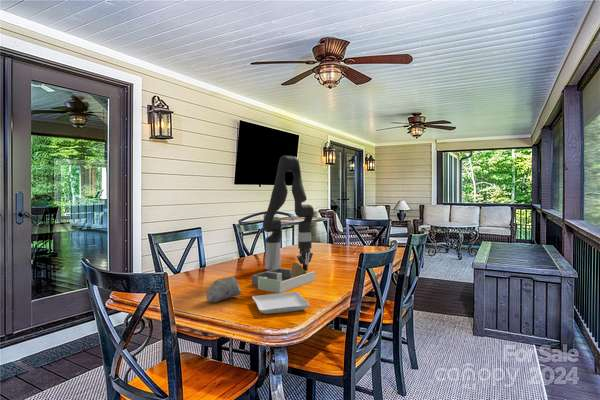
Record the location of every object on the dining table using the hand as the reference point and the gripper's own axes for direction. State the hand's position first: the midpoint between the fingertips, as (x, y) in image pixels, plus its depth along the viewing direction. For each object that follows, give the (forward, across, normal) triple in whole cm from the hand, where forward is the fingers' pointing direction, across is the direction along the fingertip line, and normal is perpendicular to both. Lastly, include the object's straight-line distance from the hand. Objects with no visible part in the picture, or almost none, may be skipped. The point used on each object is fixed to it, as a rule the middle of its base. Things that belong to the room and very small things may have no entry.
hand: (305, 270), depth 214 cm
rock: (+5, +5, 0) cm, 7 cm away
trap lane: (+5, +16, -5) cm, 17 cm away
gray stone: (+5, +54, -8) cm, 55 cm away
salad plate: (+5, +48, +20) cm, 53 cm away
